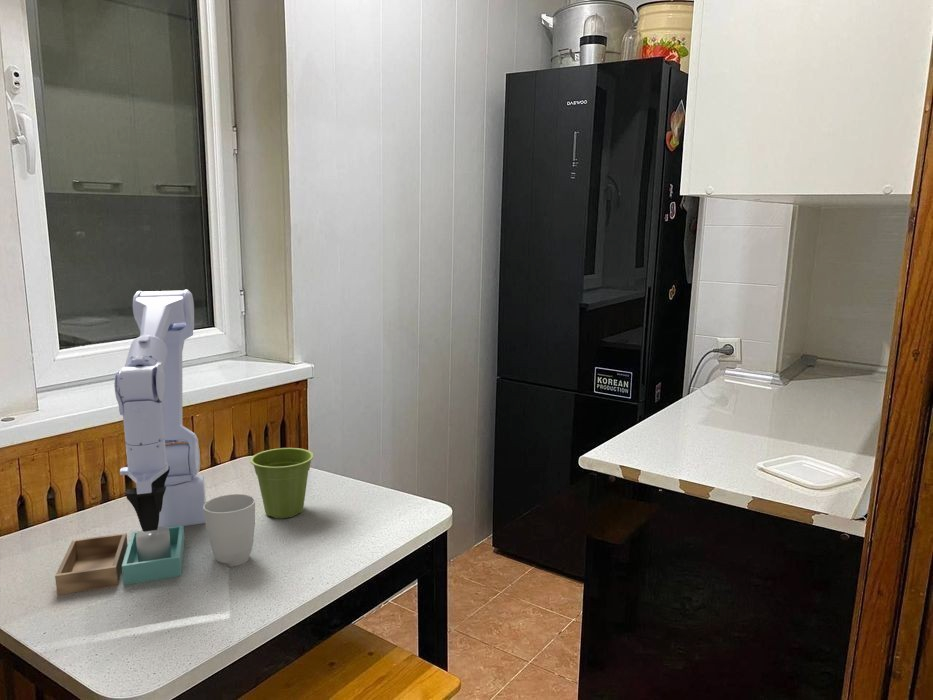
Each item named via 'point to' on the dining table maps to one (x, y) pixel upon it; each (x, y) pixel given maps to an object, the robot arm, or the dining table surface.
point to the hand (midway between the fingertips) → (152, 520)
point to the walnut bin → (92, 564)
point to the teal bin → (154, 568)
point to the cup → (231, 527)
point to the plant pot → (282, 479)
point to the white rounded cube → (153, 544)
